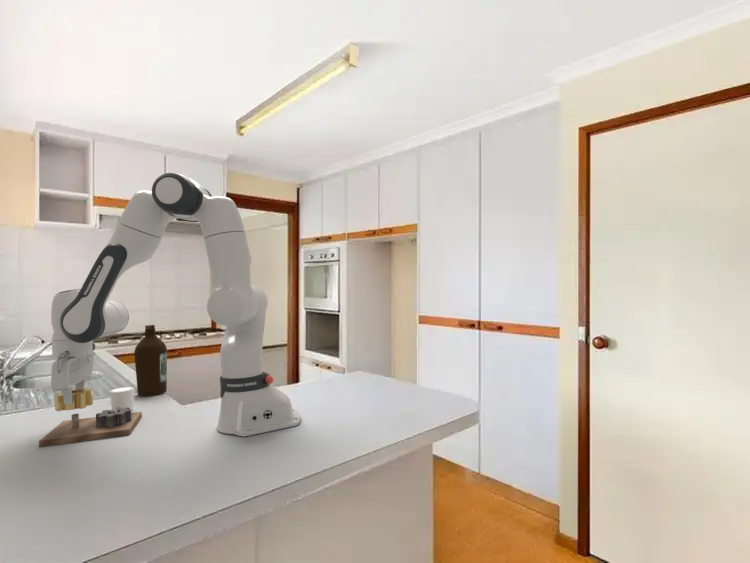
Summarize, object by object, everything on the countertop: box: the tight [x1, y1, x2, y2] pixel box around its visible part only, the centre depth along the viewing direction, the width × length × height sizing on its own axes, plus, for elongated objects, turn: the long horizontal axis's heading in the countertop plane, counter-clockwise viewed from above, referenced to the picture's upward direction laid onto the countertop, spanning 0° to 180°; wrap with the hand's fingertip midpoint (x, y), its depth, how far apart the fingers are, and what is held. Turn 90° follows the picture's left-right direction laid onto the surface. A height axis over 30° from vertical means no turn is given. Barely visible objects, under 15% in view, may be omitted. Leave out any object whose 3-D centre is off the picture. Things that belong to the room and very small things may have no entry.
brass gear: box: [54, 387, 94, 412], centre depth 114 cm, size 8×7×4 cm
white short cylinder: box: [108, 386, 135, 412], centre depth 133 cm, size 7×7×7 cm
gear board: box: [38, 407, 143, 448], centre depth 116 cm, size 20×16×5 cm
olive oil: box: [133, 324, 168, 397], centre depth 154 cm, size 11×11×25 cm
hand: (74, 399), depth 114 cm, fingers closed on brass gear, 6 cm apart
